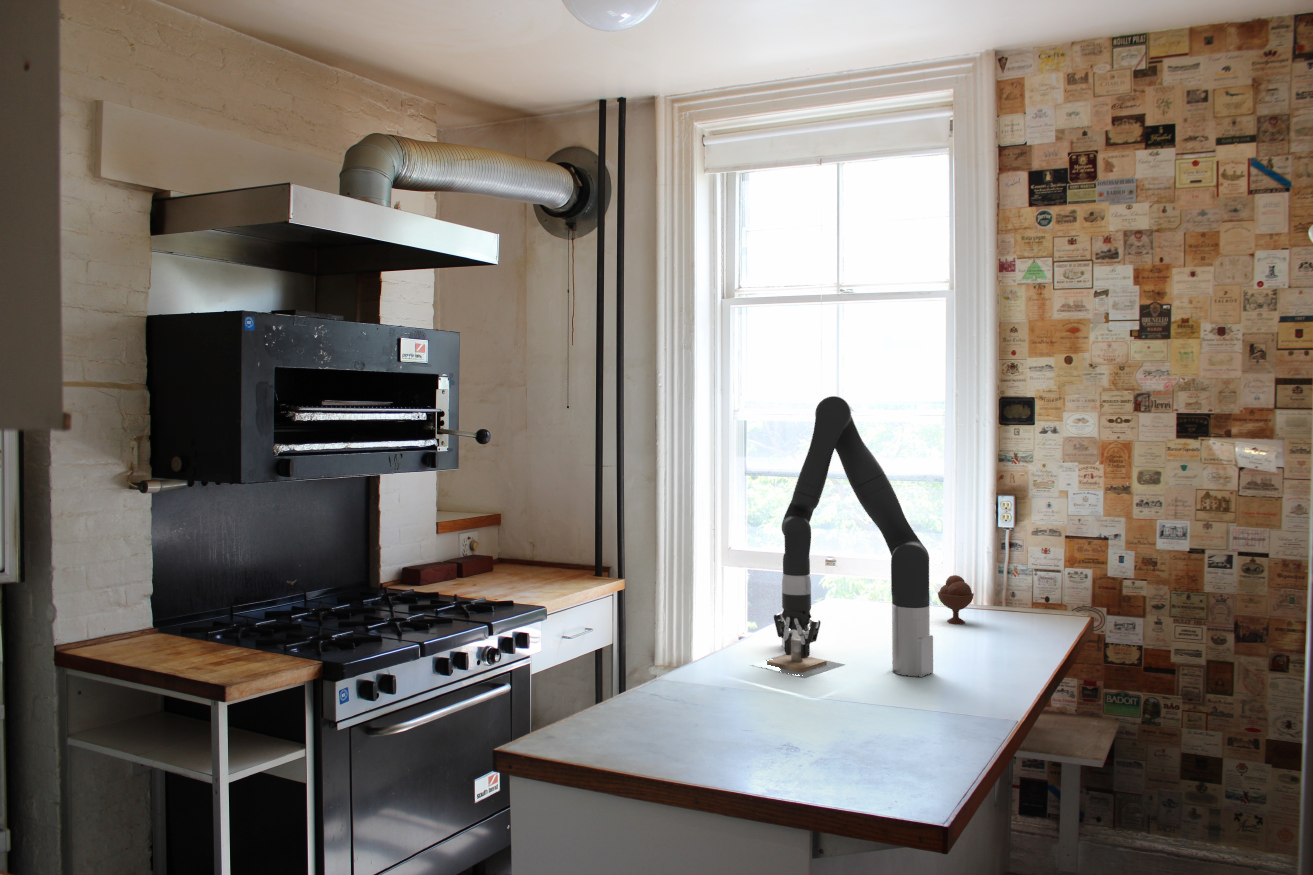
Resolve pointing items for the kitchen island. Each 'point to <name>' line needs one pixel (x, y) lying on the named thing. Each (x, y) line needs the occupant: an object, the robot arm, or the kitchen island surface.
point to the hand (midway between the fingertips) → (796, 655)
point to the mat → (812, 672)
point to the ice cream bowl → (955, 597)
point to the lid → (796, 660)
